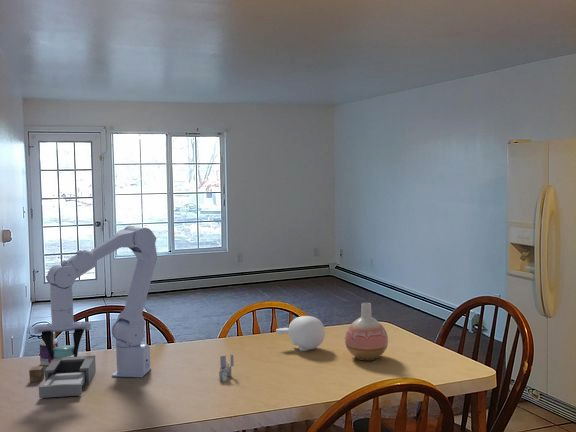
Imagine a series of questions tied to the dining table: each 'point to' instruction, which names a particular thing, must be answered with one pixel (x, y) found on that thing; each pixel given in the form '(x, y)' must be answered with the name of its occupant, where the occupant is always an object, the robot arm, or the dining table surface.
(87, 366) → the grey drawer housing
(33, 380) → the brown rectangular block
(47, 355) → the pill bottle
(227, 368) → the architectural model
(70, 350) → the teal rounded dome
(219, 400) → the dining table surface
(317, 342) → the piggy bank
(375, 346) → the vase
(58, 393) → the tray
